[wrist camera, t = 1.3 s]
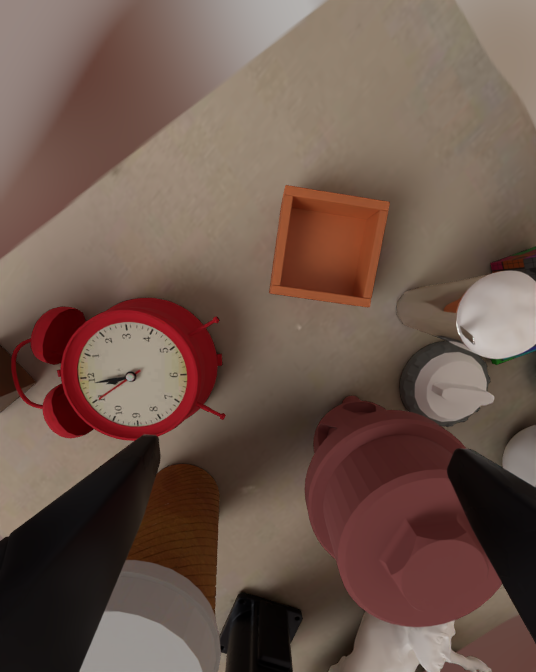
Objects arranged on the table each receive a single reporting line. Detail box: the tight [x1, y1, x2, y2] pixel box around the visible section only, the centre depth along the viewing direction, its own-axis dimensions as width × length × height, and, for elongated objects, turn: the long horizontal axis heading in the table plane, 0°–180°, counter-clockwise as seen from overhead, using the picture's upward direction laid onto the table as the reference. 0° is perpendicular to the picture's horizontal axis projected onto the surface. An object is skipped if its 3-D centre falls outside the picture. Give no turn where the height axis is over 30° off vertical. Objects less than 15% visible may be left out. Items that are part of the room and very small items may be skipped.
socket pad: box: [269, 185, 390, 307], centre depth 20 cm, size 7×7×3 cm
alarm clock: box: [11, 298, 226, 441], centre depth 20 cm, size 10×6×15 cm
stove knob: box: [400, 341, 495, 427], centre depth 22 cm, size 7×7×3 cm
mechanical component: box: [305, 396, 502, 627], centre depth 18 cm, size 12×10×10 cm
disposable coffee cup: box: [79, 464, 221, 672], centre depth 18 cm, size 10×10×12 cm
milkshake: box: [397, 271, 536, 359], centre depth 17 cm, size 4×5×10 cm
